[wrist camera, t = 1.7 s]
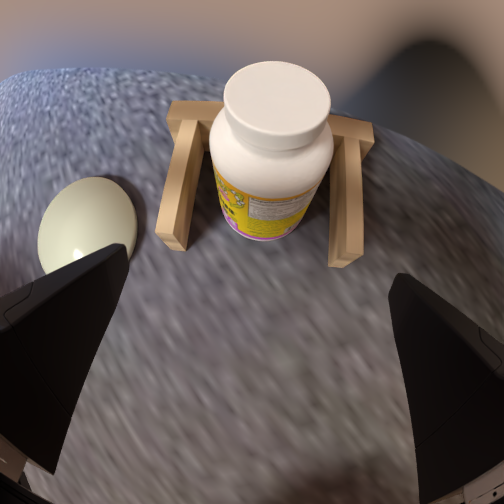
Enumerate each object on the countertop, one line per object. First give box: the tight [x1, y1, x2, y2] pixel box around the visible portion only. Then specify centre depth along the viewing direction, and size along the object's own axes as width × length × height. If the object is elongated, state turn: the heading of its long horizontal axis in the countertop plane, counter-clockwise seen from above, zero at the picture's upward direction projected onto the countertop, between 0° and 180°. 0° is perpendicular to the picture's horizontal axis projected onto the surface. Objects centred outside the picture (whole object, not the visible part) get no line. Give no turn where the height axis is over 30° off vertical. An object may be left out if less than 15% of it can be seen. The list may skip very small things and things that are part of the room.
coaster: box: [38, 177, 138, 274], centre depth 23 cm, size 10×10×1 cm
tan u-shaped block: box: [155, 101, 374, 268], centre depth 22 cm, size 11×16×4 cm
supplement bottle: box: [209, 61, 334, 241], centre depth 18 cm, size 7×7×13 cm
